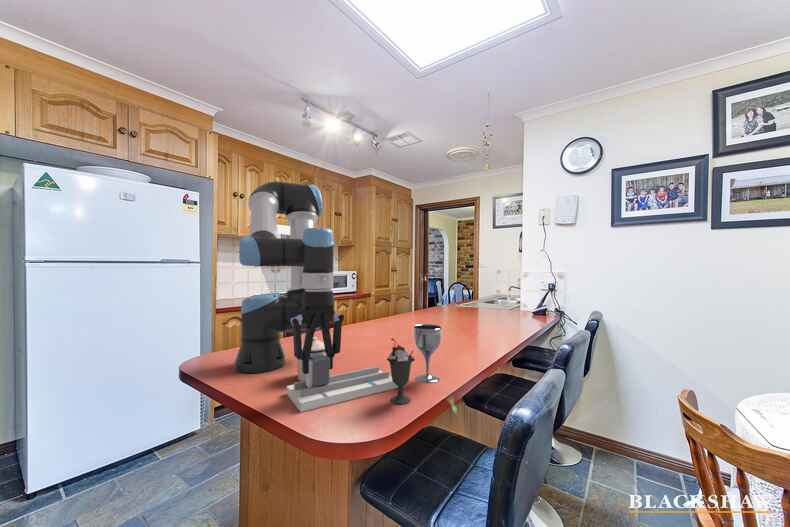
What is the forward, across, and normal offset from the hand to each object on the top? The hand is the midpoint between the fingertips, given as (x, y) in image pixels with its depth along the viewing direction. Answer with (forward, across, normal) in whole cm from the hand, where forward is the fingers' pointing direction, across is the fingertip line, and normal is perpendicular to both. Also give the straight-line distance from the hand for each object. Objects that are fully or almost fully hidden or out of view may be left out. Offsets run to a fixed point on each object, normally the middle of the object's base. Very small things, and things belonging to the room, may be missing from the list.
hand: (317, 384), depth 79 cm
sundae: (+3, +16, -13) cm, 21 cm away
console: (+3, +7, 0) cm, 8 cm away
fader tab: (+1, 0, 0) cm, 1 cm away
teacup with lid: (+3, +5, +15) cm, 16 cm away
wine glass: (+3, +31, -5) cm, 32 cm away
